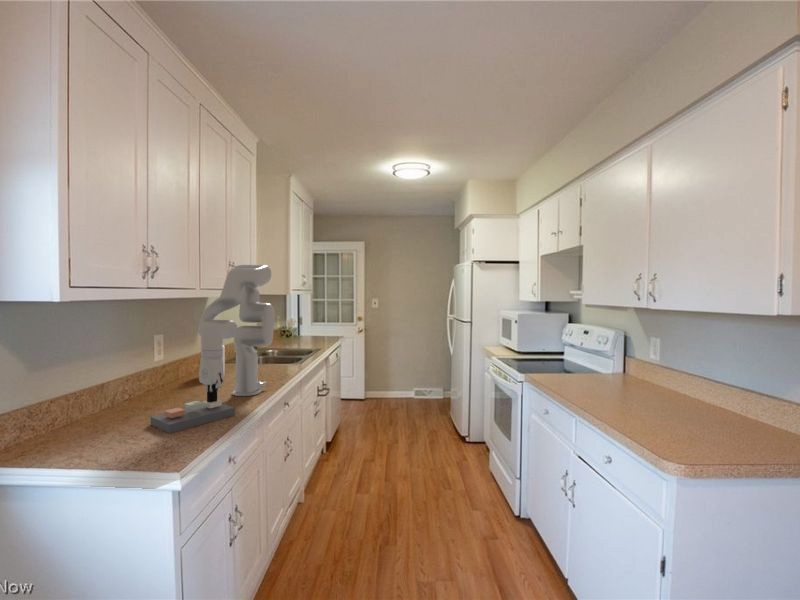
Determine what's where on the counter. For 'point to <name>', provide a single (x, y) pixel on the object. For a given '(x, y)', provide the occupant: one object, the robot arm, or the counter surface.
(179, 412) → the terracotta key
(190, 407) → the sage key
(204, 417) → the keypad
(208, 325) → the robot arm
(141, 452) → the counter surface
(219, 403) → the cream key
